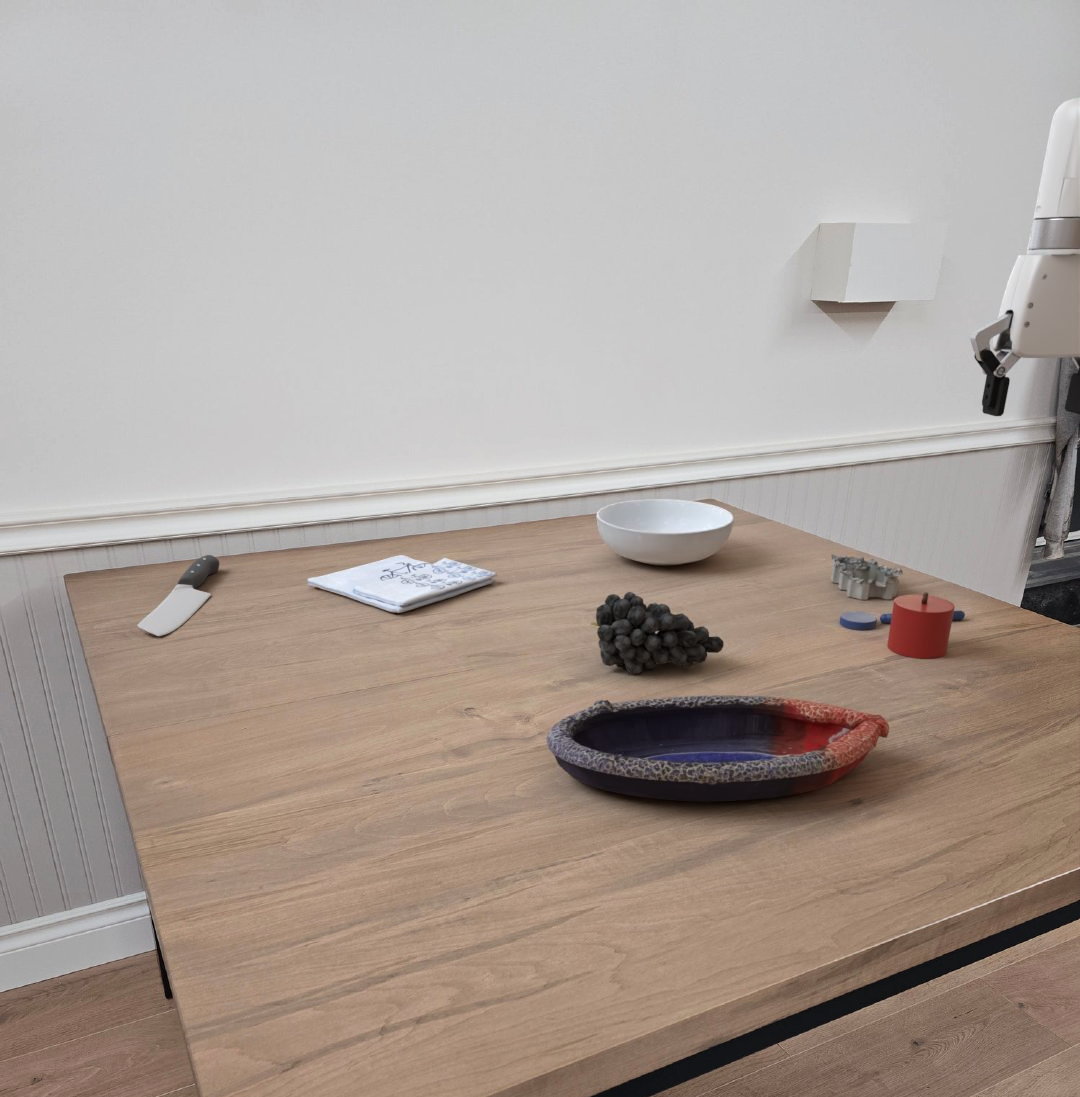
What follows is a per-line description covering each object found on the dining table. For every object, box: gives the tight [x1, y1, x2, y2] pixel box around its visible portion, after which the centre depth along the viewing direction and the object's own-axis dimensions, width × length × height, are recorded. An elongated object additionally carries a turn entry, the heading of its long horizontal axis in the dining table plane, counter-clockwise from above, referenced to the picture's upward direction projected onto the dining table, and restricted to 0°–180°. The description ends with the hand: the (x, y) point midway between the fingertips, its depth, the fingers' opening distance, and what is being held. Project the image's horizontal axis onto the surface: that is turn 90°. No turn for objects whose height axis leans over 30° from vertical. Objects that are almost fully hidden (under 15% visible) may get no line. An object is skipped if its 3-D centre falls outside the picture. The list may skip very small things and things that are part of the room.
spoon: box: [839, 609, 966, 631], centre depth 122 cm, size 16×4×1 cm, turn 96°
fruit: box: [590, 591, 725, 675], centre depth 108 cm, size 9×8×15 cm
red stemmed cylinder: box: [886, 592, 956, 659], centre depth 113 cm, size 7×7×7 cm
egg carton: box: [830, 553, 904, 601], centre depth 135 cm, size 11×8×4 cm
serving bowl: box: [595, 498, 735, 567], centre depth 149 cm, size 21×21×7 cm
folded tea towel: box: [307, 554, 498, 614], centre depth 138 cm, size 19×20×2 cm
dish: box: [546, 694, 890, 802], centre depth 86 cm, size 16×31×5 cm, turn 92°
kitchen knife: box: [136, 554, 220, 637], centre depth 132 cm, size 29×3×5 cm
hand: (1034, 413), depth 106 cm, fingers open, 9 cm apart
